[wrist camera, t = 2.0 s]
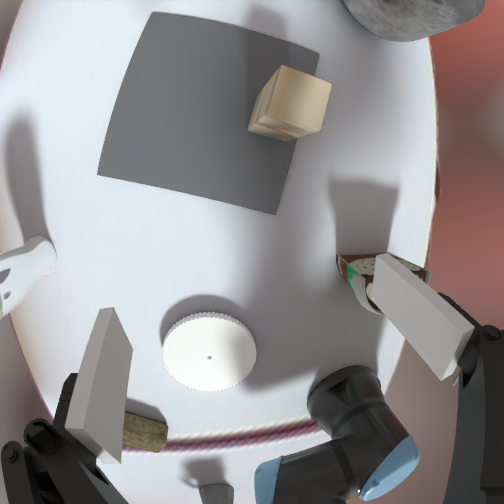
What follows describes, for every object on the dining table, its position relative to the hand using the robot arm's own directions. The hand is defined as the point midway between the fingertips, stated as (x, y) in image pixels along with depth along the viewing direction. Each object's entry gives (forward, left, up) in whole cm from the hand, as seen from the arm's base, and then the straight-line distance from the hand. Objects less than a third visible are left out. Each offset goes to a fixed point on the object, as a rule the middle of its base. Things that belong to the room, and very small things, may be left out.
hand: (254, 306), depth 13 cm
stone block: (+7, +41, -25) cm, 49 cm away
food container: (-23, +3, -25) cm, 34 cm away
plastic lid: (-3, +20, -25) cm, 32 cm away
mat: (+5, -14, -25) cm, 29 cm away
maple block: (-3, -14, -24) cm, 28 cm away
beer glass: (+25, +11, -25) cm, 37 cm away
